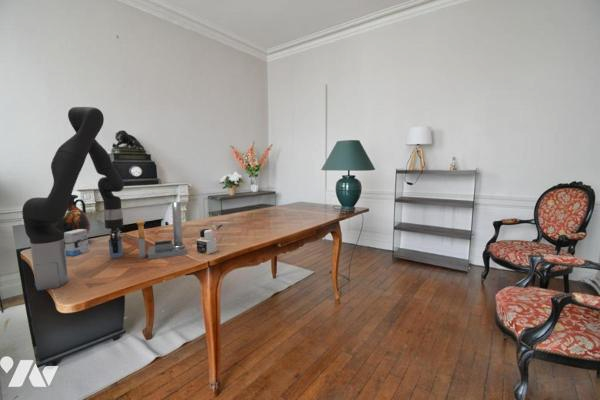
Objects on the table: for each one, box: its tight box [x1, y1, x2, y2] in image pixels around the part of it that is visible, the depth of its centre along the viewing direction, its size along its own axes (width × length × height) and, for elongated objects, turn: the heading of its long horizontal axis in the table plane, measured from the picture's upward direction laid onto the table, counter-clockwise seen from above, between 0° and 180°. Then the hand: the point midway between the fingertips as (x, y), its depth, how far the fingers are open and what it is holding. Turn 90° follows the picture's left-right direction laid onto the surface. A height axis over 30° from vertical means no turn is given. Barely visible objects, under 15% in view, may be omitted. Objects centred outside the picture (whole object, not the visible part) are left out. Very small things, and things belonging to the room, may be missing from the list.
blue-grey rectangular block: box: [108, 236, 124, 259], centre depth 137 cm, size 5×5×9 cm
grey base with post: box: [138, 201, 187, 260], centre depth 141 cm, size 14×21×26 cm
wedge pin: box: [136, 220, 146, 241], centre depth 137 cm, size 4×4×11 cm
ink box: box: [64, 229, 90, 257], centre depth 141 cm, size 8×5×12 cm, turn 168°
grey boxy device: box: [196, 228, 218, 256], centre depth 144 cm, size 7×7×12 cm
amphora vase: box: [52, 194, 91, 246], centre depth 154 cm, size 22×22×28 cm
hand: (116, 251), depth 138 cm, fingers closed on blue-grey rectangular block, 5 cm apart
